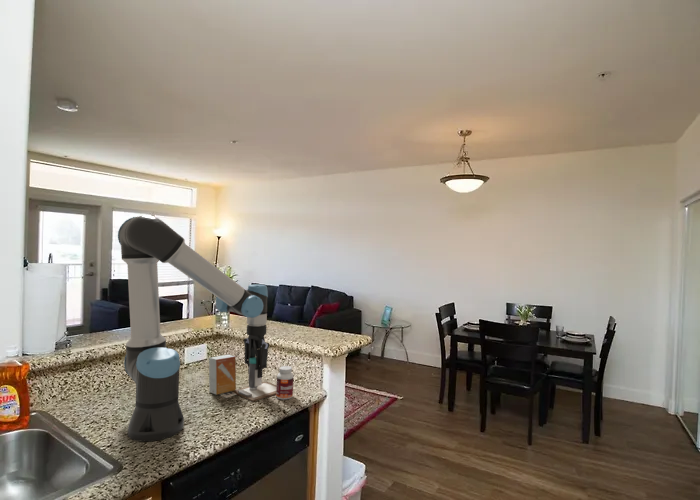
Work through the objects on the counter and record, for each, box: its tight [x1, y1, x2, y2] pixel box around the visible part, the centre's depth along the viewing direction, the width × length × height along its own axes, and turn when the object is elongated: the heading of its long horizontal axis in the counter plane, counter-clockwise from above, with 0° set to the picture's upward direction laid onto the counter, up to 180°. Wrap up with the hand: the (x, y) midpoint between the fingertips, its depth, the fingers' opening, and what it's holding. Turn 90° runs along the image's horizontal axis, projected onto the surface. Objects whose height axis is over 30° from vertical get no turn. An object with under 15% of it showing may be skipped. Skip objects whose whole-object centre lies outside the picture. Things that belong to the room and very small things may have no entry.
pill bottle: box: [275, 365, 294, 401], centre depth 148 cm, size 6×6×11 cm
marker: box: [248, 356, 258, 391], centre depth 153 cm, size 4×4×12 cm
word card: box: [218, 391, 238, 399], centre depth 149 cm, size 7×5×1 cm
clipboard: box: [232, 380, 277, 403], centre depth 152 cm, size 16×13×1 cm
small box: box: [208, 354, 237, 395], centre depth 151 cm, size 8×6×13 cm
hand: (254, 384), depth 153 cm, fingers closed on marker, 3 cm apart
